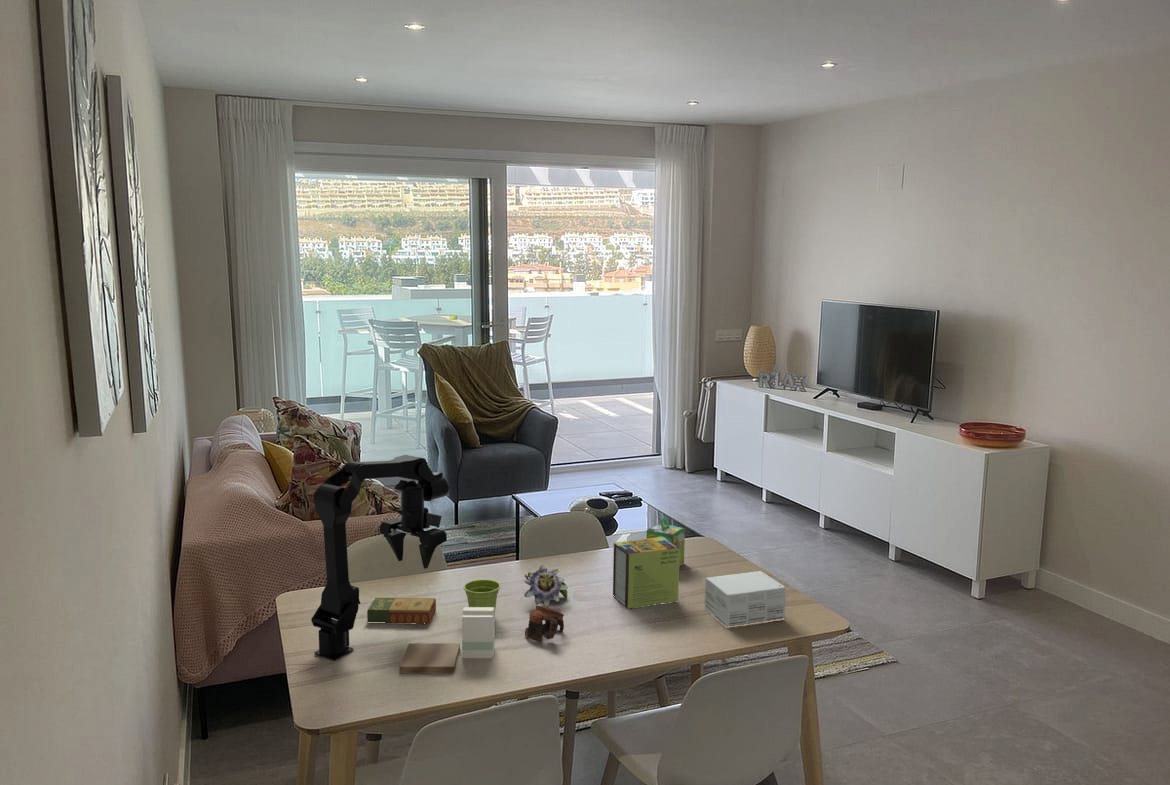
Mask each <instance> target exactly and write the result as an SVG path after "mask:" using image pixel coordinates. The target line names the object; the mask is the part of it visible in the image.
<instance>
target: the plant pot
mask: <svg viewBox="0 0 1170 785" xmlns="http://www.w3.org/2000/svg"><path fill="white" fill-rule="evenodd" d="M500 589H501V584H500V582H498V581H497V580H492V579H474V580H471V581H468V582H466V583H465V584H464V585H463V590H464V591H465V595H466V598H467V604H468V607H494V616H495V613H496V608H497V607H496V606H497V597H498V594H499V590H500Z"/></svg>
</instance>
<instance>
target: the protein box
mask: <svg viewBox="0 0 1170 785" xmlns="http://www.w3.org/2000/svg"><path fill="white" fill-rule="evenodd" d="M679 554H680V548H679V547H678V546H676V545H675V544H673V543H672V542H670V541H668V540H667V539H665V538H664V537H656V538H648V539H647V538H641V539H634V540H623V541H617V542H613V565H612V568H613V569H612V571H613V572H612V574H613V577H612V596H613V595H614V596H615V597H616V598H617V599H618V600H619V601H620V602H621V603H622V604H621V603H620V602H619V601H618V600H617V599H616V598H615V597H614V596H613V597H614V598H615V599H616V600H617V601H618V602H619V603H620V604H621V605H623V607H624V608H626V609H627V610H631V609H630V608H632V609H636V608H635V607H640V608H643V607H642V606H647V607H649V606H648V605H654V604H661V603H668V604H670V603H669V602H675V603H677V602H676V601H678V602H679V585H680V584H679V583H680V582H679V581H680V566H679ZM661 605H662V604H661ZM654 606H655V605H654Z"/></svg>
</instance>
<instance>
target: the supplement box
mask: <svg viewBox="0 0 1170 785" xmlns="http://www.w3.org/2000/svg"><path fill="white" fill-rule="evenodd" d="M704 579H705V582H704V585H705V586H704V610H705V609H706V610H707V611H708V612H709V613H710V614H712V615H713V616H714V617H715V618H717V619H718V620H719V621H720V622H721V623H723V624H724V625H725V626H726V627H728V626H735V625H744V624H750V623H756V622H763V621H770V620H776V619H782V618H785V615H786V586H785V585H784V584H781V583H780V582H778V581H777V580H776V579H774V578H772V577H770V576H769V575H767V574H766V573H765V572H763V571H761V570H758V571H750V572H741V573H735V574H733V573H732V574H726V575H719V576H710V577H709V576H708V577H705V578H704ZM708 612H707V613H708ZM709 613H708V614H709ZM710 614H709V615H710ZM714 617H713V618H714ZM715 618H714V619H715ZM721 623H720V624H721Z"/></svg>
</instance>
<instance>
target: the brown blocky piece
mask: <svg viewBox="0 0 1170 785" xmlns="http://www.w3.org/2000/svg"><path fill="white" fill-rule="evenodd" d="M528 616H529V617H528V618H529V621H528V627H525V629H524V630H525V631H524V637H525V638H528V639H530V640H532V641H536V642H539V643H542V641H543V638H545V639H546V640H551V639H553V638H554V636H555V634H556V632H557V630H558V627H559V632H564V629H565V623H564V616H565V614H564V613H562V612H560V611H557V610H555V609H551V608H549V607H544V606H542V605H535V609H534V610H533V611H532V612H530V613H529V615H528ZM543 621H544V623H543Z"/></svg>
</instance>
